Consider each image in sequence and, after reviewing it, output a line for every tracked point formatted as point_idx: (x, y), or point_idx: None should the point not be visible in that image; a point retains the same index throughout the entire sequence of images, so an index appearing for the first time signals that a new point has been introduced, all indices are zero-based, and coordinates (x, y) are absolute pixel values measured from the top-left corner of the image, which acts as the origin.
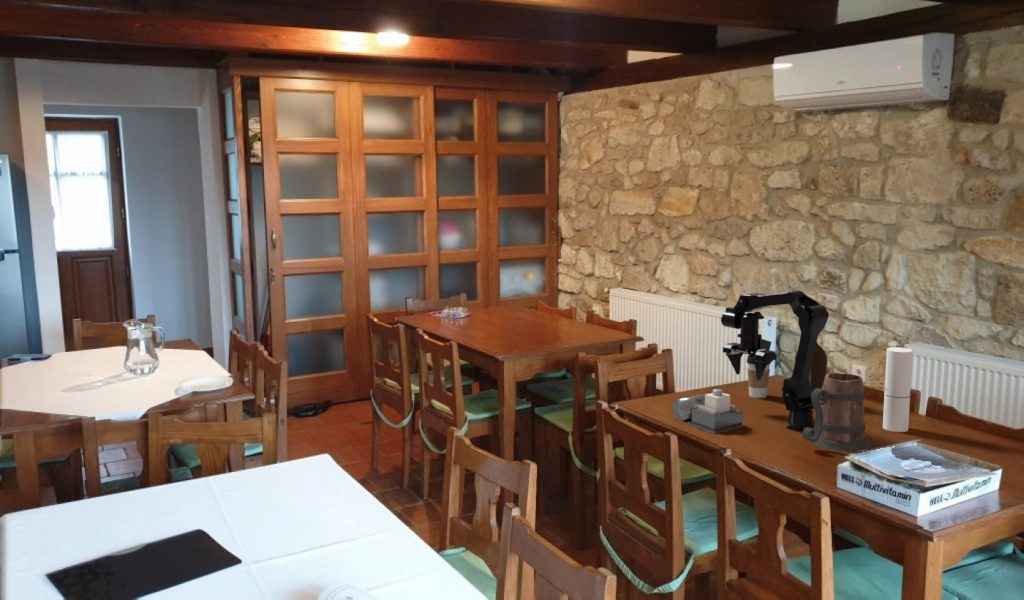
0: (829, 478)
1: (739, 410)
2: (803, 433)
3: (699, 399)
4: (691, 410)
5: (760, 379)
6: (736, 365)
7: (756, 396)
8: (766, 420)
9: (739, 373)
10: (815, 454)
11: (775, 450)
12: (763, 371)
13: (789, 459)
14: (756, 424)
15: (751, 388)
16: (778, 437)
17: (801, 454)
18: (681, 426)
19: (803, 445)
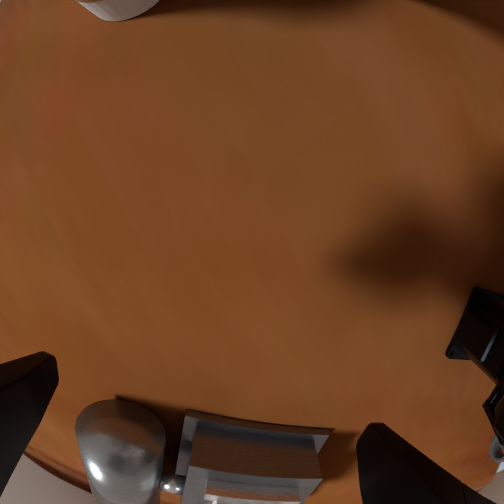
0: (493, 467)
1: (311, 481)
2: (494, 459)
3: (137, 497)
4: (159, 502)
5: (382, 425)
6: (3, 457)
7: (135, 12)
8: (365, 331)
9: (51, 361)
10: (493, 432)
11: None
12: (448, 481)
13: (453, 475)
14: (349, 395)
15: (93, 4)
16: (432, 427)
17: (473, 450)
18: (176, 497)
19: (480, 419)
